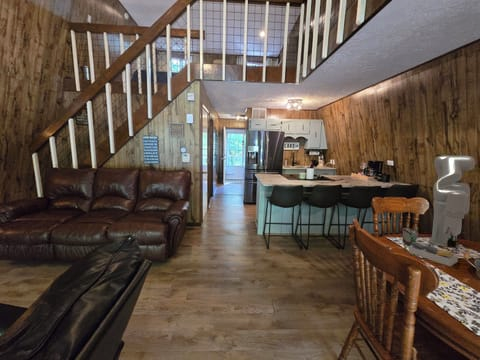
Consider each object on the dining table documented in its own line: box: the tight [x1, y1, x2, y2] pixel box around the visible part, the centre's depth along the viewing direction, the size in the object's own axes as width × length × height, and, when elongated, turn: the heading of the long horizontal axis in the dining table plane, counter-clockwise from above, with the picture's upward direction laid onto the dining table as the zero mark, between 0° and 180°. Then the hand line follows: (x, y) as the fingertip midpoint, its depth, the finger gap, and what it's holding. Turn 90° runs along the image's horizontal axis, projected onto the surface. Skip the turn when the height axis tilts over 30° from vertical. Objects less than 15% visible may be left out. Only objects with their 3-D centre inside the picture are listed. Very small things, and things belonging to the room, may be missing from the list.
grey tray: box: [408, 246, 459, 267], centre depth 134 cm, size 10×20×4 cm, turn 30°
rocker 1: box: [411, 241, 425, 249], centre depth 138 cm, size 4×6×2 cm
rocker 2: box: [423, 244, 439, 254], centre depth 132 cm, size 4×6×2 cm
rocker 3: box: [437, 249, 454, 257], centre depth 126 cm, size 4×6×2 cm
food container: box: [402, 227, 419, 247], centre depth 151 cm, size 12×6×10 cm, turn 168°
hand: (451, 246), depth 123 cm, fingers closed
